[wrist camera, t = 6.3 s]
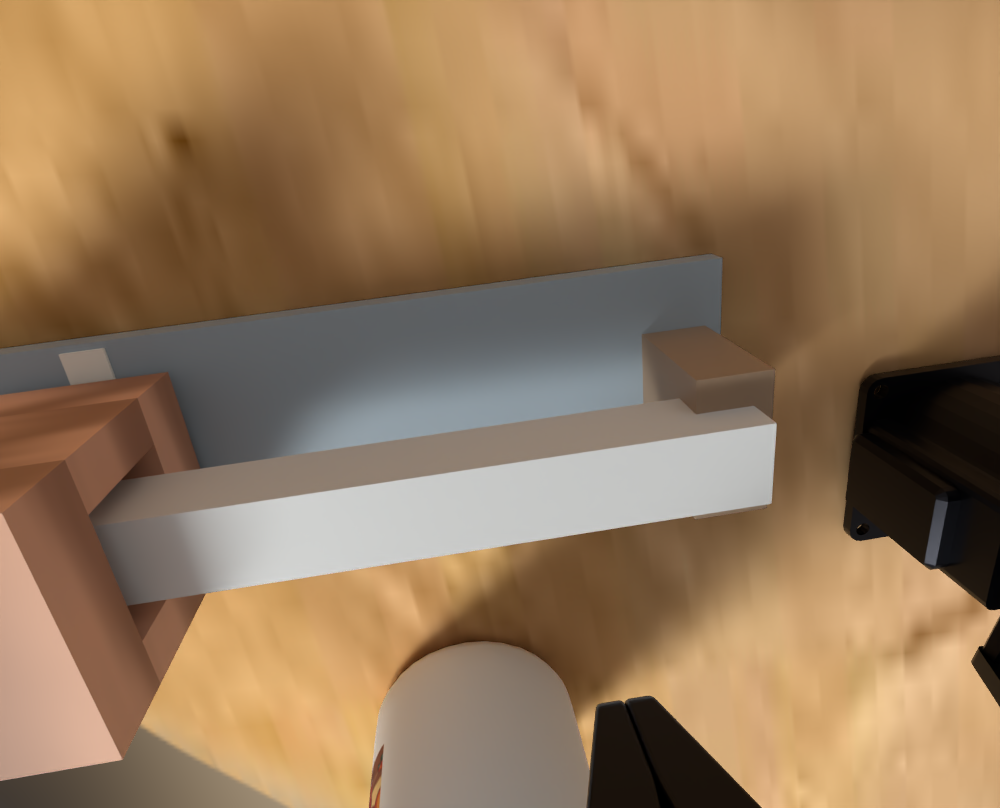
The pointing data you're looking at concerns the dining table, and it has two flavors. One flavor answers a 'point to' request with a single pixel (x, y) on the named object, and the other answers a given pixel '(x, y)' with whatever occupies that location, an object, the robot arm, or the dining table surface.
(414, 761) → the milk bottle
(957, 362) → the robot arm
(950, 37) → the dining table surface
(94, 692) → the collar
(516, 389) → the rail
